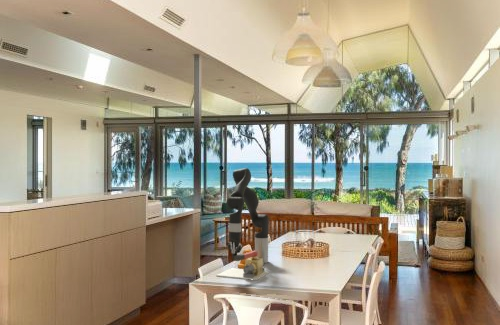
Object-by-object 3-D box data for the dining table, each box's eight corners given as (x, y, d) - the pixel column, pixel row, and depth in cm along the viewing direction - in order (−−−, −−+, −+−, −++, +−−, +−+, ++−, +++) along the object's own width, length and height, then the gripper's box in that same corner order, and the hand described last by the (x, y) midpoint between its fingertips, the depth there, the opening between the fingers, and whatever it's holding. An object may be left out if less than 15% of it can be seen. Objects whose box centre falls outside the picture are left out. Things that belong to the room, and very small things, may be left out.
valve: (254, 269, 322) (254, 252, 322) (266, 270, 319) (266, 253, 319) (241, 277, 302) (241, 258, 302) (253, 278, 299) (253, 259, 299)
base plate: (231, 269, 327) (231, 268, 327) (268, 272, 317) (268, 271, 317) (216, 276, 307) (216, 275, 307) (256, 280, 297) (256, 278, 297)
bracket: (237, 268, 329) (237, 250, 329) (240, 266, 336) (240, 248, 336) (252, 269, 326) (252, 251, 326) (256, 267, 333) (256, 249, 332)
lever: (252, 254, 313) (252, 249, 313) (258, 255, 311) (259, 250, 311) (232, 260, 295) (232, 255, 295) (239, 261, 292) (239, 256, 292)
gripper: (223, 229, 302) (222, 258, 302) (237, 232, 292) (237, 262, 292) (232, 228, 307) (232, 257, 307) (247, 231, 297) (246, 260, 297)
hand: (234, 259), depth 299 cm, fingers closed
